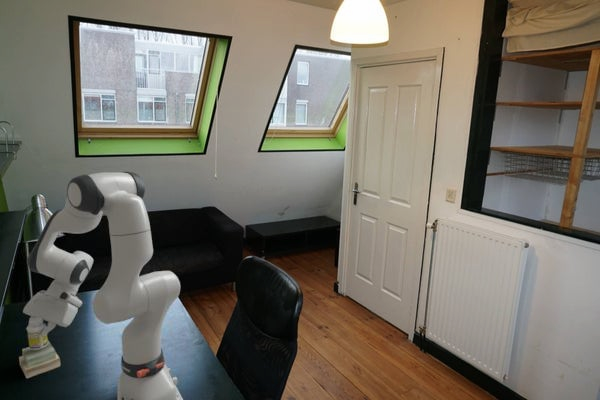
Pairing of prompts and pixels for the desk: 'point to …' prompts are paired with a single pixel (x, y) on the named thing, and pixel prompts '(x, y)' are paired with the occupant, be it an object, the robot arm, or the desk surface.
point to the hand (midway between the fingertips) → (35, 333)
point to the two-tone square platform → (38, 360)
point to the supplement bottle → (36, 334)
